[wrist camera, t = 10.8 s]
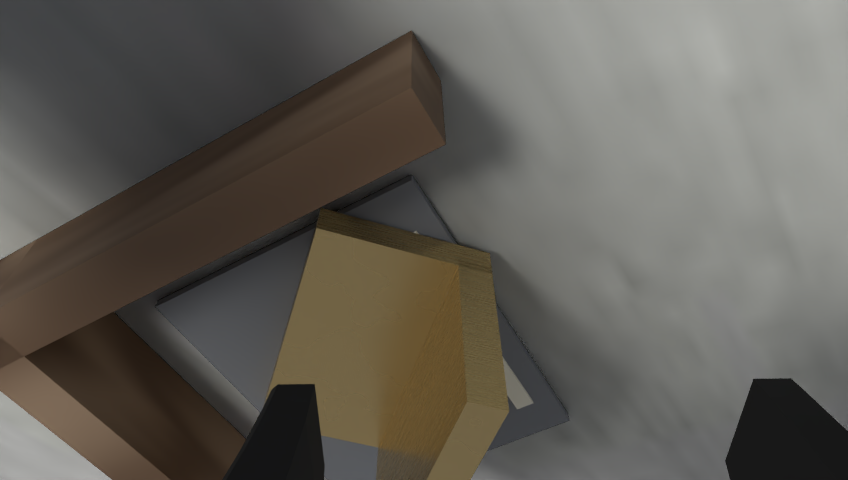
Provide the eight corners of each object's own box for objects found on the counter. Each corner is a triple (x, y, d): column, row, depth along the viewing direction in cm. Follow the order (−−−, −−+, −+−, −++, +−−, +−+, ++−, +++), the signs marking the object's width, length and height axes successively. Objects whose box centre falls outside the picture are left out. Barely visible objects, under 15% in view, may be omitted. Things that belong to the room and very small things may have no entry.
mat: (158, 301, 23) (154, 309, 23) (411, 174, 20) (411, 181, 20) (350, 495, 28) (349, 504, 28) (567, 413, 26) (570, 422, 26)
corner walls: (-1, 260, 22) (-63, 340, 19) (411, 30, 18) (411, 87, 15) (278, 512, 29) (263, 599, 26) (617, 384, 25) (642, 469, 22)
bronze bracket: (407, 430, 26) (403, 597, 21) (264, 399, 25) (225, 565, 20) (489, 253, 21) (509, 411, 17) (320, 207, 21) (288, 360, 16)
